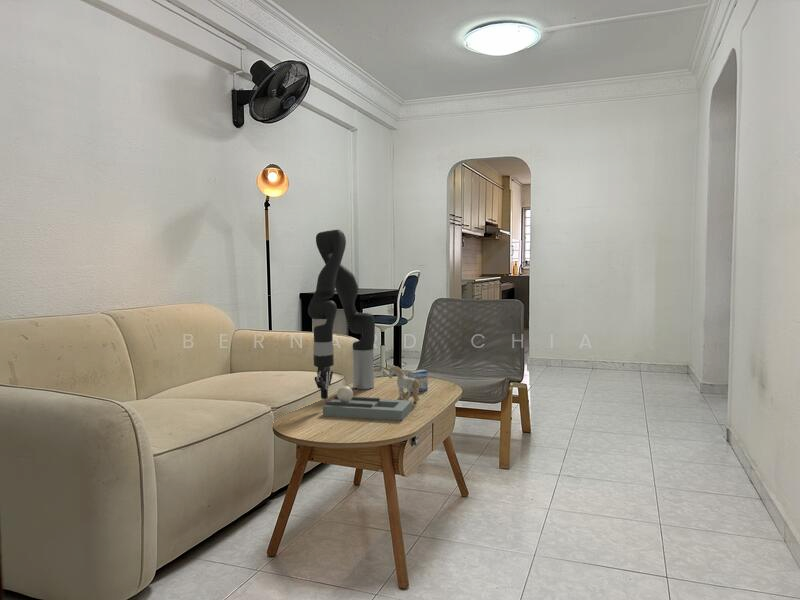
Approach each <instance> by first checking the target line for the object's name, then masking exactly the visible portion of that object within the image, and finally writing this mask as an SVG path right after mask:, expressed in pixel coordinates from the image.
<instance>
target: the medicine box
mask: <svg viewBox="0 0 800 600" xmlns="http://www.w3.org/2000/svg"><path fill="white" fill-rule="evenodd" d="M428 374H429V372H428V370H426V369H417V370H412V371H407V377H408V378H414V379H416V380H417V381H418V382H419V385H420V386H419V391H421V392H424V391H423V390H426V391H428V390H429V375H428ZM427 389H428V390H427ZM410 391H411V393H413V388H411V390H410Z"/></svg>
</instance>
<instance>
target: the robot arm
mask: <svg viewBox="0 0 800 600" xmlns="http://www.w3.org/2000/svg"><path fill="white" fill-rule="evenodd" d="M315 244H316V248H317V249H318V253H319V254H320V256H321V259H322V261H323V262H324V264H325V265H324V266H323V267H322V269H321V270H320V272H319V274H318V276H317V280H316V288H315V292H314V294H313V296H312V298H311V299H310V302H309V304H308V309H307V313H308V316H309V317H310V318H311V319H313V320H326V322H325V323H324V324H319V325H316V326H314V327H313V347H312V348H313V366H314V367H317V371H316V375H317V376H315V377H314V381H315V384H316V387H317V389H320V399H322V400H327V399H328V398H329V394H328V393H329V387H330V386H331V382H332V379H333V375H334V371H333V370H332V371H331V367H333V366H335V365H334V364H335V363H334V362H335V360H334V359H335V358H334V356H335V355H334V353H335V352H334V344H333V329H334V322H335V319H336V315H337V310H338V308H337V304H336V302H335V301H334V300H330V299H331V298H333V297H334V295H335V291H336V293H337V295H338V298H339V300H340V302H341V303H340V304H341V305H342V309H343V312H344V316H345V320H346V323H347V326H348V329H349V330H350V332H351V333H353V334H360V335H362V337H361V339H359V340H357V341H353V343H352V385H353V386H352V387H354V388H353V389H355V388H357V389H356V390H371V389H373V388H375V369H374V368H375V367H374V366H375V364H374V363H375V362H374V356H375V355H374V354H375V353H374V345H375V334H376V333H375V332H376V321H375V320H376V319H375V317H374V315H373V313H370V312H369V313H368V312H358V311H357V309H356V305H355V302H356V299H357V296H358V293H359V287H358V282H357V280H356V278H355V275H354V273H353V272H352V271H351V270H350V269H349V268H348V267H347V266H345V265H344V264H343V263H342V260H343V257H344V254H345V250H346V245H347V240H346V235H345V233H344V232H343V230H341V229H330V230H326V231H325V230H324V231H319V232H318V233H316V236H315ZM370 388H371V389H370Z"/></svg>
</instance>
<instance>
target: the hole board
mask: <svg viewBox="0 0 800 600" xmlns="http://www.w3.org/2000/svg"><path fill="white" fill-rule="evenodd" d="M324 403H325V404H324V405H322V416H324V417H335V418H337V417H338V418H355V419H356V418H357V419H368V418H369V420H370V419H371V420H372V419H373V420H384V419H388V421H400V420H402V421H404V419H406V417H407V416H408V415H409V414H410V413H411V412H410V411H411V410H413V400H409V399H408V400H405V399H402V400H398V399H389V398H387V399H386V398H384V399H383V398H380V397H369V396H368V397H366V396H353V397H352V399H351V400H350V401H349V402H341V401H340V400H339V399H338V397H337V395H334V396H333V399H331V400H330V401H328V400H326V401H325V402H324ZM409 412H410V413H409Z"/></svg>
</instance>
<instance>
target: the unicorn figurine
mask: <svg viewBox="0 0 800 600" xmlns="http://www.w3.org/2000/svg"><path fill="white" fill-rule="evenodd" d="M379 368H380V369H381V368H382V369H384V370H386V371H388V379H392V378H393V376H395V374H396V376H397V379H396V385H397V387H398V393H399V394H398V395H399V396H398V397H397V400H403V399H404V400H408V401H409V399H410V396H411V393H412V398H413V400H412V403H414V402H415V403H418V402H419V401H420V399H419V393H420V392H419V386H420V385H419V382H418V381H417V380H416V379H414V378H408V376H406V374H405V372H404V370H403V368H400V367H399V366H398V365H397V366H396V365H393V366H389V368H387V367H383V366H379ZM411 388H413V392H410V390H411ZM404 389H406V390H407V395H406V392H405V391H404Z"/></svg>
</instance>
